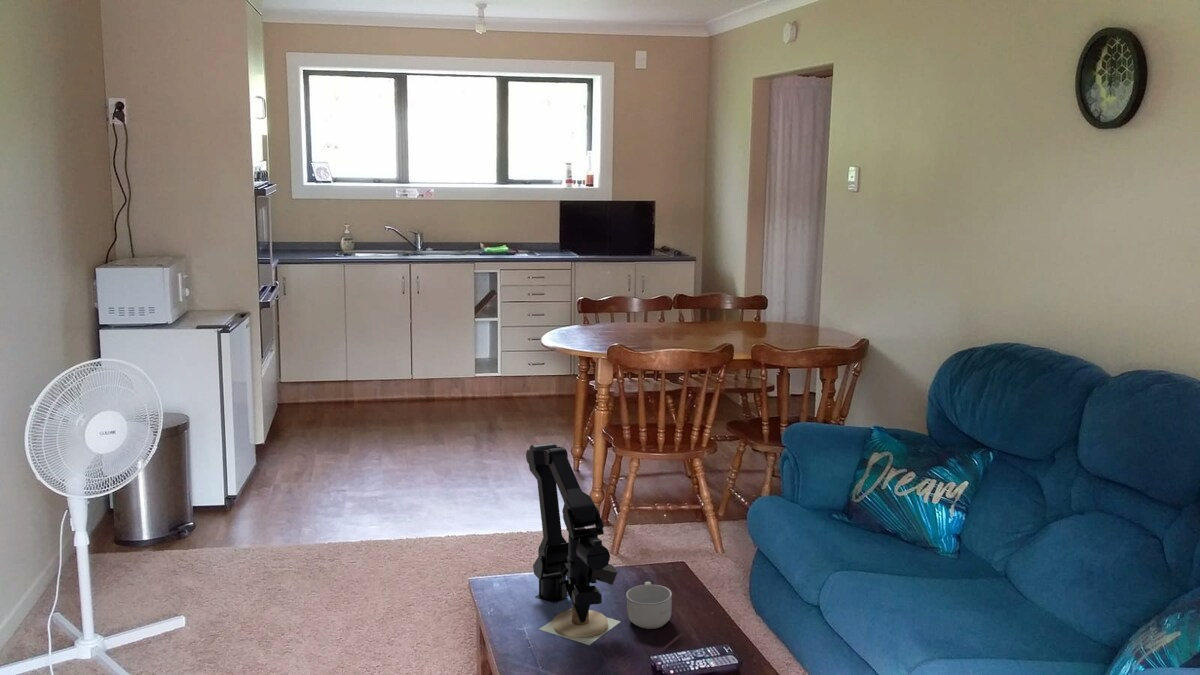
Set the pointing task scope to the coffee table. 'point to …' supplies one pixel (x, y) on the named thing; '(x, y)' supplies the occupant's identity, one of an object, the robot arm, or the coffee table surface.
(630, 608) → the teacup
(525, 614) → the coffee table surface
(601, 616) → the oak lid
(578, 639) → the sage mat
